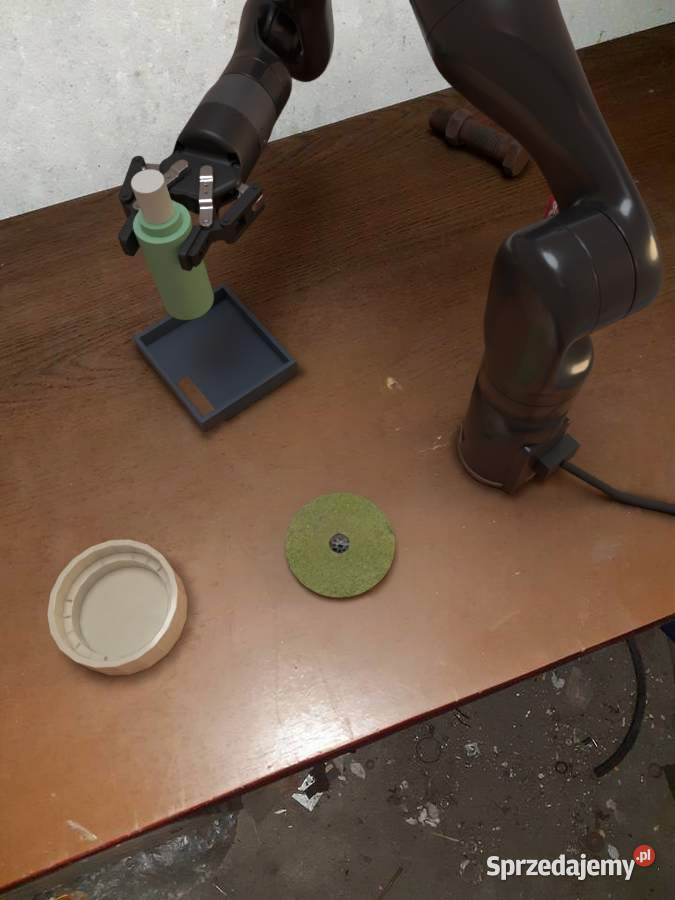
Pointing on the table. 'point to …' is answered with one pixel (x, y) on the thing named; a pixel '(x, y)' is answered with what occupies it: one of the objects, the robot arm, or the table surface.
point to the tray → (218, 356)
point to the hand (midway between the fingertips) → (154, 256)
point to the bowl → (117, 607)
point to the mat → (340, 545)
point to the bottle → (168, 247)
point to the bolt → (479, 138)
